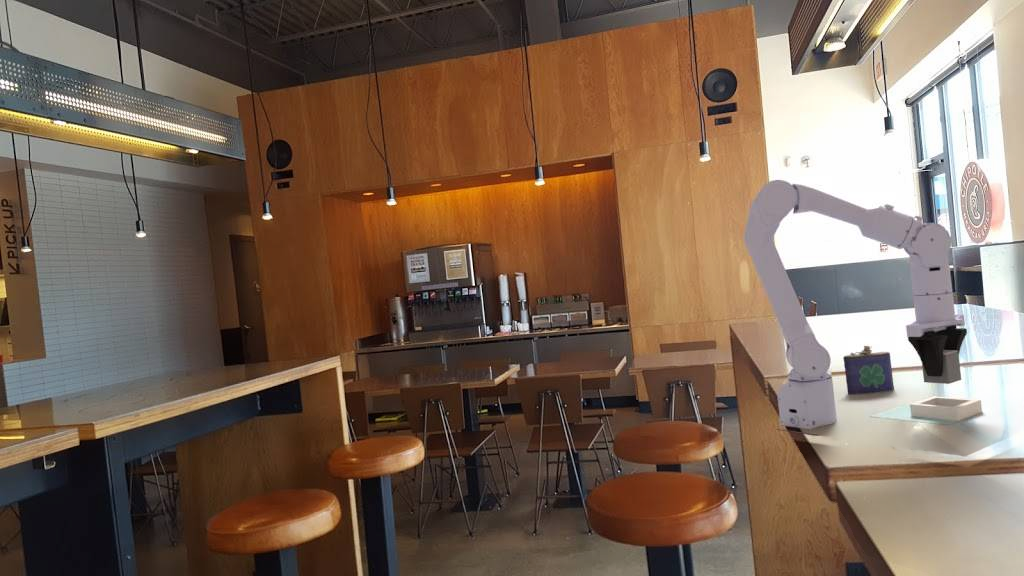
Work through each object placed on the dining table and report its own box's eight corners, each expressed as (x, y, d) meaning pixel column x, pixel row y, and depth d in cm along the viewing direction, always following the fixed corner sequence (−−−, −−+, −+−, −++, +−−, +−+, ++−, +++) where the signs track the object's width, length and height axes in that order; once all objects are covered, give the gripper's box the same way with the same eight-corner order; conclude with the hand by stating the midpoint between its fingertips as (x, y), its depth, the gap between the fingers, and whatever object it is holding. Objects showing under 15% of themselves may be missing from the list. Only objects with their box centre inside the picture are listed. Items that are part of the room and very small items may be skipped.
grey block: (948, 383, 114) (945, 353, 114) (924, 382, 117) (920, 353, 117) (961, 379, 116) (958, 350, 116) (936, 378, 119) (933, 349, 119)
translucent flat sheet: (948, 432, 110) (948, 424, 110) (870, 423, 121) (869, 416, 121) (983, 418, 116) (982, 411, 116) (905, 411, 127) (905, 404, 127)
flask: (891, 393, 143) (885, 342, 143) (898, 396, 140) (892, 343, 140) (846, 398, 143) (840, 347, 143) (852, 401, 140) (846, 348, 140)
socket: (958, 420, 112) (957, 408, 112) (911, 415, 118) (909, 404, 118) (982, 411, 115) (980, 399, 115) (935, 407, 122) (933, 396, 122)
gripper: (934, 297, 110) (943, 382, 110) (980, 288, 117) (989, 367, 117) (890, 299, 116) (899, 380, 116) (936, 290, 123) (945, 366, 123)
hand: (941, 373), depth 117 cm, fingers closed on grey block, 4 cm apart
